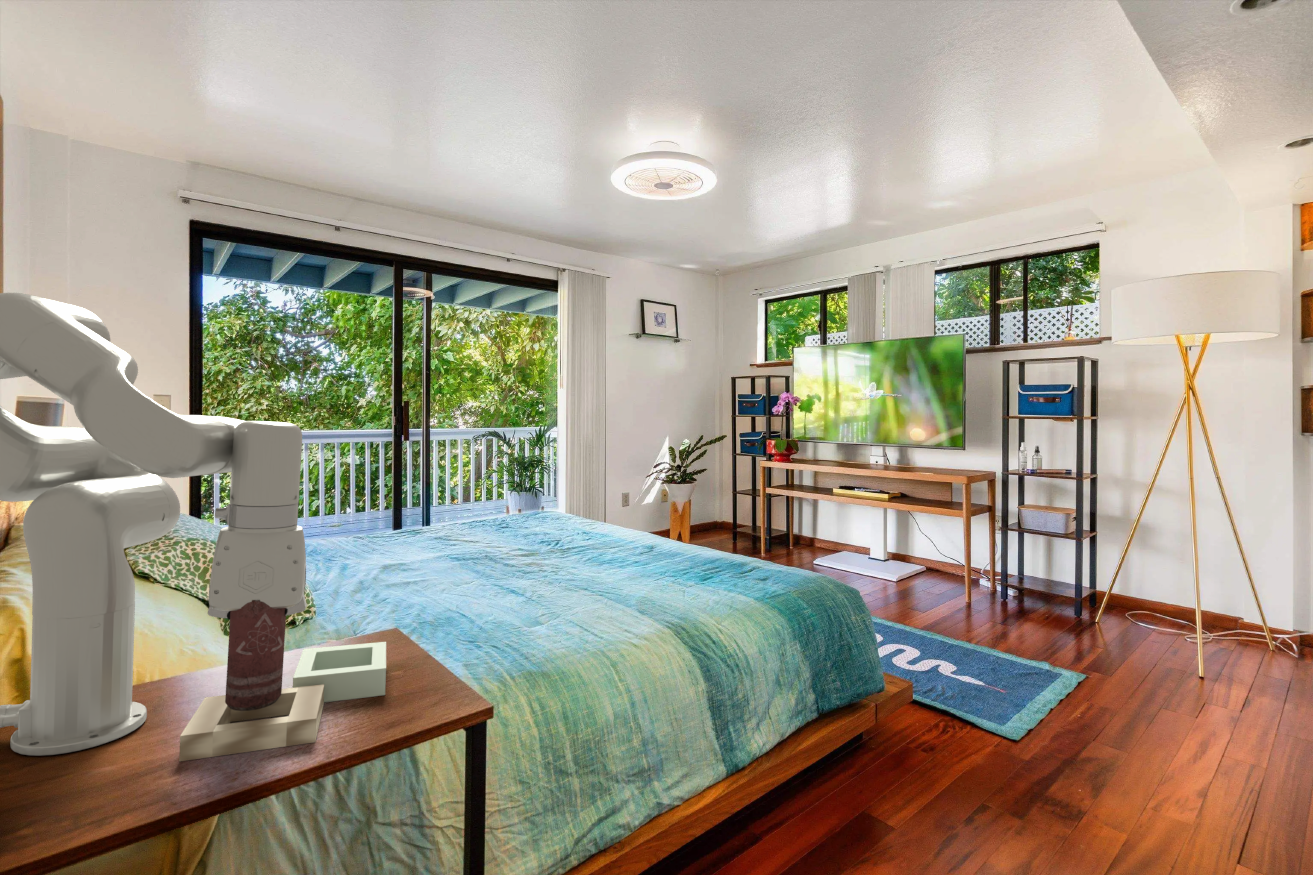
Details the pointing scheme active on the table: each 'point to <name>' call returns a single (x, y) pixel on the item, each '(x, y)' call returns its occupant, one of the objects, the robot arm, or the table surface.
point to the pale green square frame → (344, 670)
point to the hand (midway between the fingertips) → (255, 658)
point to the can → (255, 656)
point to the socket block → (253, 725)
